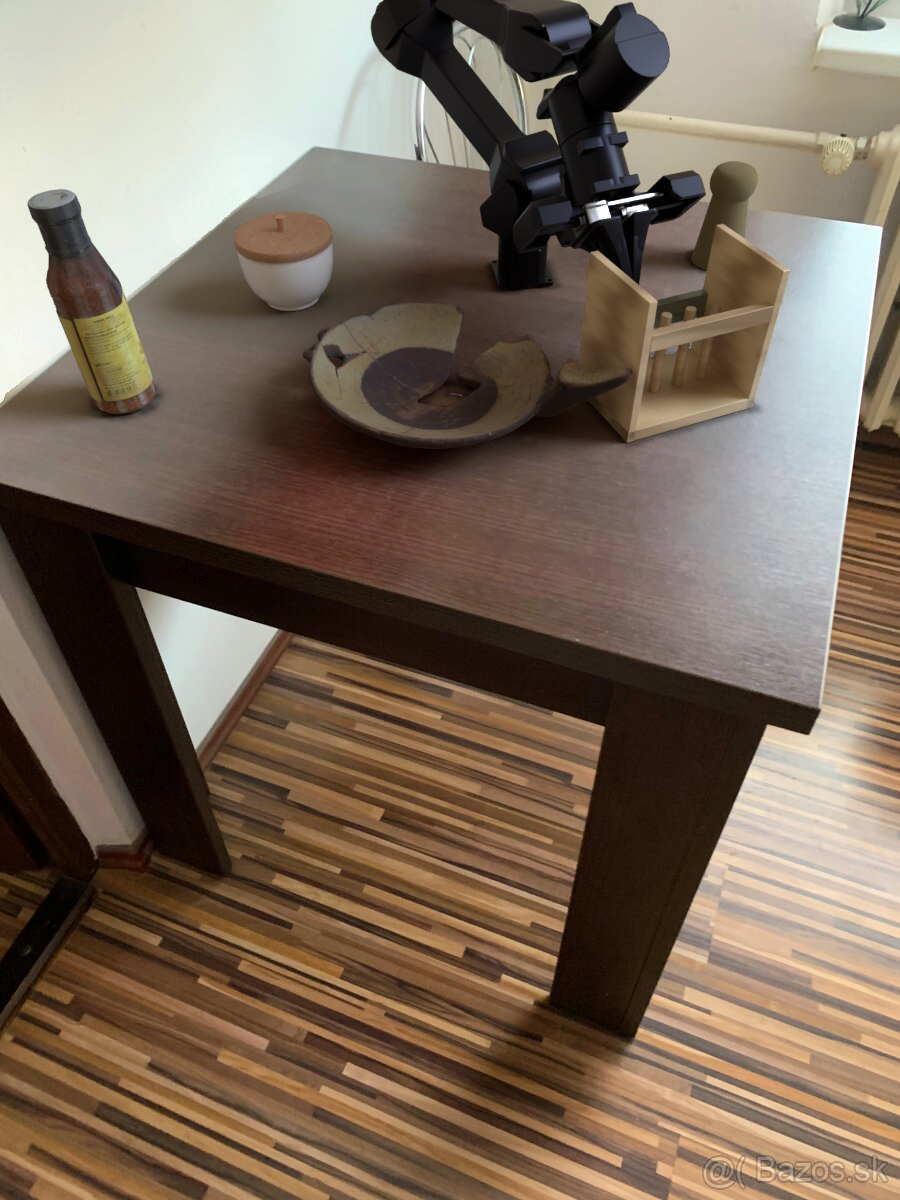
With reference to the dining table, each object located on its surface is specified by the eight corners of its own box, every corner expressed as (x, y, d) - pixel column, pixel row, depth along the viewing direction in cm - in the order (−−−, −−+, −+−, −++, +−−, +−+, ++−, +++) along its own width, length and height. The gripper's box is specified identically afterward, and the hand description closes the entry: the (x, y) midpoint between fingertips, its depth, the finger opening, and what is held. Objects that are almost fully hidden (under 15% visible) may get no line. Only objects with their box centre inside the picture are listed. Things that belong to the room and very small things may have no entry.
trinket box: (228, 311, 100) (210, 229, 93) (275, 269, 107) (262, 190, 100) (312, 328, 97) (300, 245, 90) (355, 284, 104) (347, 204, 97)
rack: (575, 387, 89) (590, 251, 78) (694, 356, 92) (723, 223, 82) (627, 442, 82) (649, 303, 72) (752, 407, 86) (791, 269, 76)
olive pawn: (743, 274, 104) (766, 177, 96) (690, 269, 105) (709, 174, 97) (741, 250, 108) (764, 156, 100) (691, 247, 109) (709, 153, 101)
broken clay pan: (412, 321, 98) (408, 254, 92) (647, 419, 85) (659, 348, 79) (261, 413, 86) (247, 343, 81) (506, 544, 73) (509, 471, 67)
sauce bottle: (169, 388, 90) (111, 187, 75) (135, 423, 85) (67, 218, 71) (114, 377, 91) (47, 178, 77) (78, 411, 87) (-1, 208, 73)
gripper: (633, 164, 96) (672, 304, 97) (476, 195, 91) (519, 341, 92) (686, 108, 85) (729, 266, 86) (512, 139, 81) (560, 305, 82)
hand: (632, 296), depth 87 cm, fingers closed
